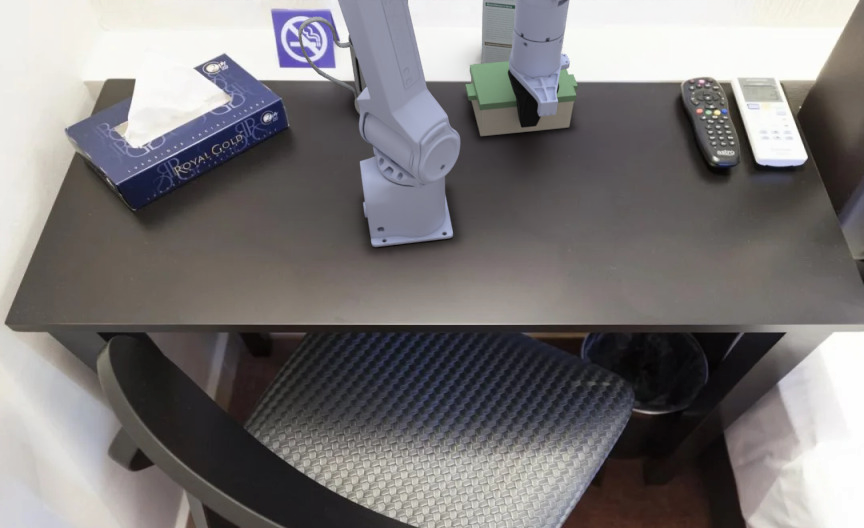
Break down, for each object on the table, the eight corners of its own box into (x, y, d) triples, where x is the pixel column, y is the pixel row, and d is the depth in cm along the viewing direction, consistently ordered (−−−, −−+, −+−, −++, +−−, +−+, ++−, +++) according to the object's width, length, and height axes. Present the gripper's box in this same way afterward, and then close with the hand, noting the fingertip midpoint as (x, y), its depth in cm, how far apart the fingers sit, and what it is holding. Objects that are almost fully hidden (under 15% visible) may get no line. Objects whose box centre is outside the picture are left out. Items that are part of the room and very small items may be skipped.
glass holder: (426, 116, 89) (421, 11, 77) (321, 137, 87) (299, 33, 74) (409, 76, 94) (402, -29, 81) (309, 95, 91) (286, -10, 79)
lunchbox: (578, 126, 88) (563, 88, 93) (584, 94, 84) (569, 55, 88) (471, 137, 87) (461, 97, 91) (472, 105, 83) (462, 65, 87)
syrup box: (520, 80, 94) (530, -21, 81) (479, 74, 94) (482, -26, 82) (526, 55, 97) (536, -45, 85) (486, 50, 97) (491, -50, 85)
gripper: (591, 64, 70) (572, 160, 81) (559, -13, 78) (545, 85, 89) (526, 70, 69) (516, 166, 81) (499, -8, 77) (494, 89, 89)
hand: (528, 124), depth 85 cm, fingers closed
